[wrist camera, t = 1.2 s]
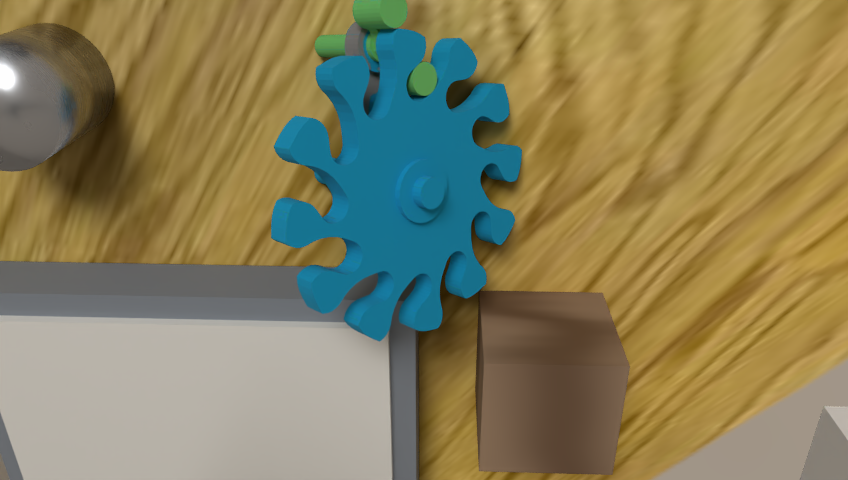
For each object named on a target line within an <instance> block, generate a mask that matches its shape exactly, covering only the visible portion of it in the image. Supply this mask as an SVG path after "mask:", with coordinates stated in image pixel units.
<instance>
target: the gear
mask: <svg viewBox="0 0 848 480" xmlns="http://www.w3.org/2000/svg"><path fill="white" fill-rule="evenodd" d="M353 16H354V19H355V21H356V22H355V23H353V24H352V25H351V26H350V28H349V29H348V31H347V34H346V35H322V36H319V37H318V38H317V40H316V42H315V50H316V52H317V54H318V55H319V56H321V57H334V58H331V59H329V60H327V61H325V62H324V63H322V64H321V65H319V66H318V67H316V80H317V83H318V85H319V87H320V88H321V90H322V91H323V92H324V93H325V94H326V95H327V96H328V97H329V99H330V100H331V102H332V103H333V105H334V107H335V109H336V111H337V113H338V116H339V119H340V124H341V130H342V140H343V147H342V151H341V154H340V155H339V157H338V158H337V159H336V158H332V156H331V153H330V146H329V137H328V133H327V130H326V128H325V127H324V125H323V124H322V123H321V122H320V121H318V120H316V119H313V118H307V117H299V116H295V117H294V118H292V119H291V120H290V121H289V122H288V123H287V125H286V126H285V127H284V129H283V130H282V132H281V133H280V135H279V137H278V139H277V141H276V143H275V145H274V148H275V151H276V153H277V154H278V156H279V157H280V158H282V159H283V160H285V161H287V162H291V163H296V164H301V165H305V166H307V167H308V168H310V169H312V170H313V171H314V173H315V177H316V179H317V180H318V181H319V182H320V183H322V184H326V185H327V187H328V188H329V190H330V191H331V193H332V197H333V203H332V207H331V210H330V211H329V213H328V214H327V215H326V216H324V217H323V218H322V217H321V216H320V214H319V213H318V211H317V210H316V209H315V208H314V207H313V206H312V205H311V204H309V203H306V202H302V201H299V200H295V199H292V198H281V199H279V200H277V201H276V204H275V206H274V210H273V214H272V224H271V238H272V239H274V240H275V241H278V242H280V243H283V244H286V245H288V246H291V247H295V248H301V247H304V246H307V245H308V244H310V243H312V242H313V241H316V240H319V239H321V238H326V237H340V238H342V239H343V240H344V242H345V243H346V247H347V252H346V256H345V259H344V261H343V262H342V263H341V264H340V265H339V266H338V267H335V268H326V267H322V266H319V265H310V266H307V267H306V268H304V269H303V270H301V271H300V272H299V274H298V275H297V285H298V288H299V291H300V294H301V296H302V298H303V300H304V302H305V303H306V305H307V307H309V308H311V309H313V310H315V311H318V312H320V313H322V314H326V313H329V312H332V311H333V310H335V309H336V308H337V307H338V306H339V305H340V303H341V301H342V300H343V298H344V297H345V295H346V294H347V293H348V292H349V290H350V289H351V288H352V287H353V286H354V285H355V284H357V283H358V282H359V281H361V280H362V279H364V278H366V277H368V276H370V275H373V274H376V273H377V274H378V282H377V286H376V288H375V289H374V291H373V292H372V293H370V294H369V295H367V296H364V297H362V298H359V299H357V300H355V301H354V302H353V303H351V304H350V306H349V307H348V308H347V310H346V312H345V315H344V321H345V322H346V323H347V325H349V326H350V327H351V328H352V329H354V330H356V331H358V332H360V333H362V334H364V335H366V336H368V337H370V338H372V339H374V340H377V341H379V342H380V341H381V340H382V339H384V337H385V336H386V335H387V333H388V331H389V329H390V326H391V320H392V315H393V312H394V308H395V306H396V303H397V301H398V299H399V297H400V296H401V294H402V292H403V291H404V290H405V288H406V287H407V286H408V285H409V283H410V282H411V281H412V280H413V279H414V278H415V277H416V284H415V287H414V289H413V291H412V292H411V293H410V294H409V296H408V297H407V298H406V299H405V300H404V302H403V303H402V305H401V307H400V310H399V322H400V323H401V324H404V325H406V326H408V327H411V328H413V329H415V330H418V331H429V330H433V329H437V328H439V326H440V324H441V321H442V316H443V311H442V307H441V302H440V284H441V279H442V275H443V271H444V268H445V265H446V262H447V260H448V258H449V256H450V264H449V267H448V270H447V273H446V277H445V285H446V289H447V290H448V292H449V293H451V294H454V295H457V296H460V297H463V298H465V299H466V298H469V297H471V296H472V295H474V294H475V293H477V292H478V291H479V290H480V289H481V288H482V287H483V286H484V285H485V284H486V280H487V278H486V272H485V270H484V268H483V267H482V266H481V265H480V264H479V263H478V261H477V260H476V257H475V255H474V252H473V248H472V241H471V223H472V220H473V218H474V219H475V232H476V235H477V236H478V238H479V239H481V240H483V241H487V242H490V243H494V244H498V245H502V243H503V242H504V241H505V240H506V238H507V237H508V235H509V233H510V231H511V229H512V227H513V224H514V222H515V218H514V215H513V213H512V212H511V211H509V210H506V209H501V208H497V207H496V206H494V205H493V204H492V203H491V202H490V201H489V199H488V198H487V196H486V194H485V192H484V190H483V188H482V186H481V182H480V178H481V173H482V171H483V169H484V170H485V172H486V174H487V176H488V177H490V178H492V179H497V180H502V181H508V182H513V181H515V180H517V177H518V175H519V171H520V165H521V156H522V150H521V149H520V147H518V146H513V145H505V144H494V145H492V146H490V147H488V148H486V149H483V148H481V147H479V146H478V145H476V144H475V142H474V140H473V137H472V128H473V125H474V123H475V121H476V120H479V121H489V122H502V121H504V120H505V119H506V118H507V117H508V115H509V103H508V98H507V93H506V90H505V87H504V84H494V83H481V84H478V85H477V86H476V87H475V88H474V89H473V91H472V92H471V94H470V95H469V97H468V98H467V99H466V100H465V101H464V102H463V103H462V104H460V105H459V106H457V107H455V108H453V109H449V108H448V106H447V103H446V93H447V89H448V87H449V86H450V84H451V83H453V82H454V81H458V80H464V79H467V78H469V77H471V75H472V74H473V73H474V71H475V69H476V66H477V59H476V57H475V55H474V53H473V52H472V50H471V49H470V48H469V46H468V45H467V44H466V43H465V42H464V41H463V40H462V39H461V38H446V39H441V40H439V41H438V42H437V43H436V45H435V47H434V49H433V52H432V57H431V63H428V62H421V61H422V59H423V57H424V54H425V50H426V41H425V37H423V36H422V35H421V34H419V33H417V32H415V31H411V30H406V29H394V28H398V27H400V26H401V25H402V24H403V23H404V21H405V20H406V17H407V4H406V1H405V0H355V1H354V4H353ZM409 95H411V96H409Z"/></svg>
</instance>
